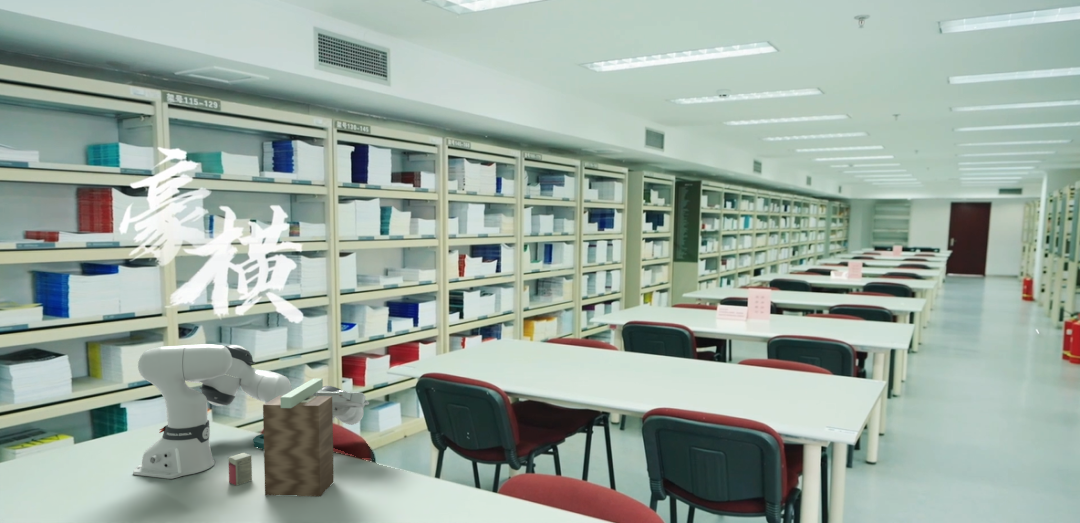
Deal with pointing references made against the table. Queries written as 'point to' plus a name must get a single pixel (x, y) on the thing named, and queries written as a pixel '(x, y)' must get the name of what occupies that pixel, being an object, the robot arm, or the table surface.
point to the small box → (240, 468)
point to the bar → (301, 393)
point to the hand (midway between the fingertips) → (326, 393)
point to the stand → (298, 447)
